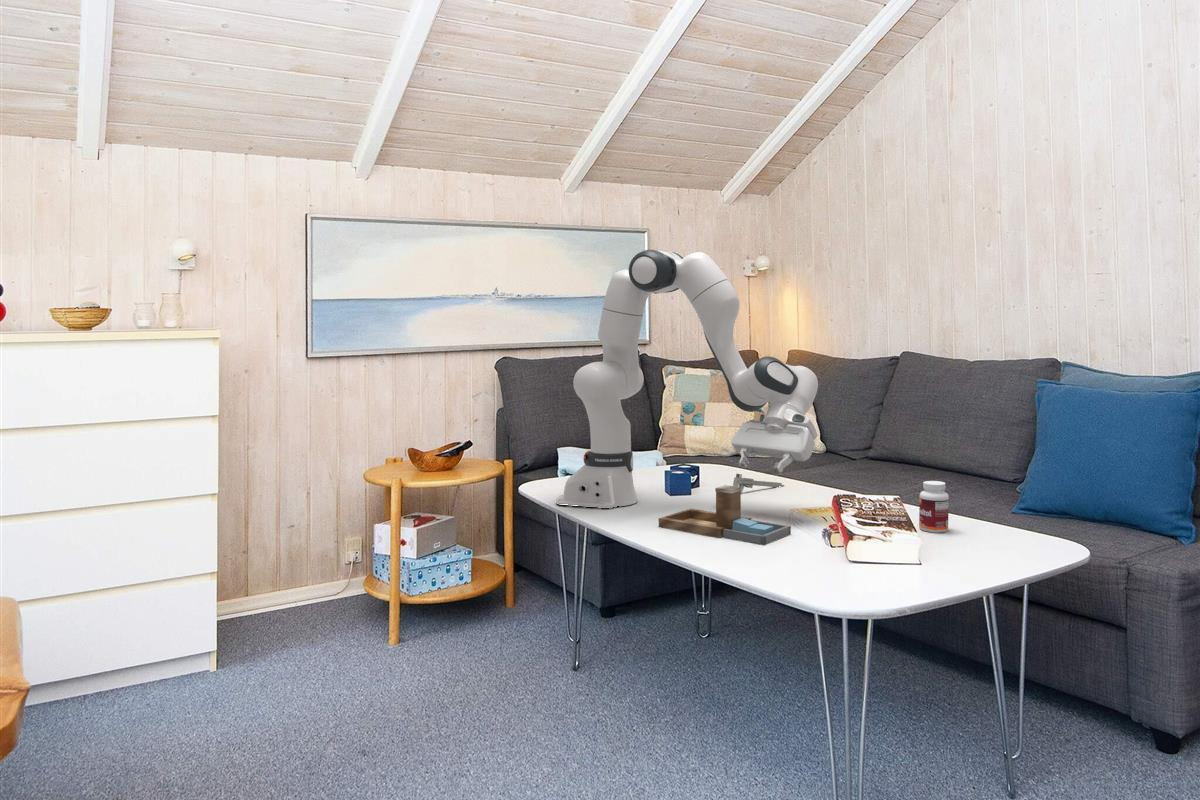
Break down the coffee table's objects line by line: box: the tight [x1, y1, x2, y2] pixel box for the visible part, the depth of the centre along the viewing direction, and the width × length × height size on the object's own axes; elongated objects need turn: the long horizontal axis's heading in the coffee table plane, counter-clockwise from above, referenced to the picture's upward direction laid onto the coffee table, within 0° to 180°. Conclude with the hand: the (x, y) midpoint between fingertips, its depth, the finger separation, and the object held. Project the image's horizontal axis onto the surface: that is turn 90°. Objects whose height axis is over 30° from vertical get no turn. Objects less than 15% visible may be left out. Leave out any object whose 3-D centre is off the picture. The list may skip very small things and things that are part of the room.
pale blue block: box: [732, 518, 758, 533], centre depth 177 cm, size 4×4×3 cm
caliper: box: [732, 473, 785, 495], centre depth 231 cm, size 20×1×6 cm, turn 125°
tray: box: [722, 519, 792, 546], centre depth 175 cm, size 10×12×3 cm
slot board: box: [658, 508, 752, 539], centre depth 184 cm, size 17×13×3 cm
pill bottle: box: [918, 480, 950, 534], centre depth 181 cm, size 6×6×11 cm
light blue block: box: [748, 524, 774, 535], centre depth 174 cm, size 4×4×3 cm
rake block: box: [714, 484, 742, 530], centre depth 179 cm, size 4×4×10 cm
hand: (759, 468), depth 187 cm, fingers open, 8 cm apart
